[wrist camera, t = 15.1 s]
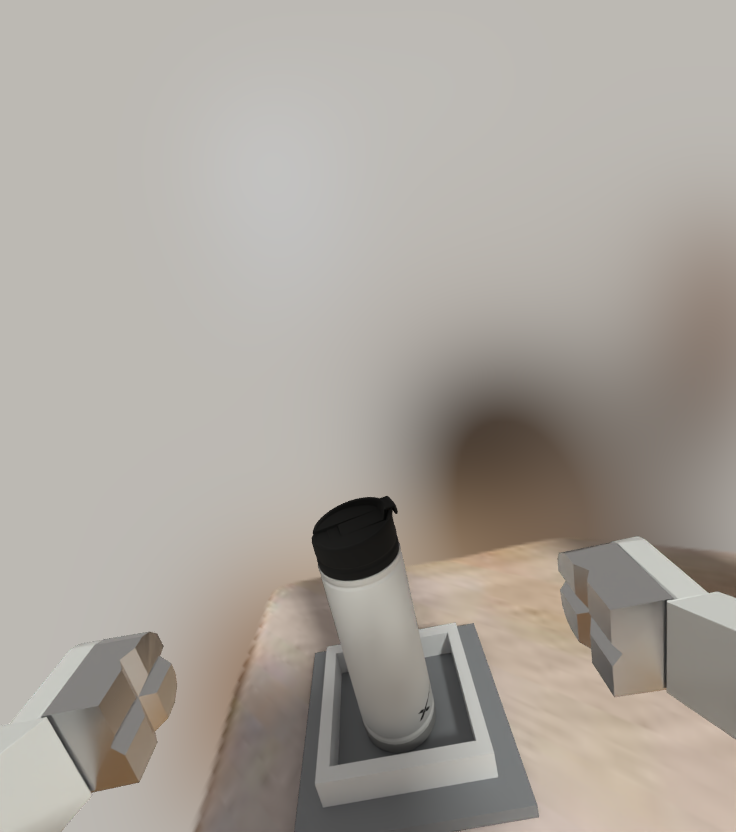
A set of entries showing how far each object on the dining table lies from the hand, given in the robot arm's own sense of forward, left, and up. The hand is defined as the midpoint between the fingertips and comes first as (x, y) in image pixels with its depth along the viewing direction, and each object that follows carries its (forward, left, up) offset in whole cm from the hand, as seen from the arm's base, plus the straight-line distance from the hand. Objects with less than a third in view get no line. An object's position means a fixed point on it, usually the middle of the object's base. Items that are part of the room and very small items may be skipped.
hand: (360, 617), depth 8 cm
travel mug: (+2, -20, -29) cm, 35 cm away
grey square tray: (+2, -20, -30) cm, 36 cm away
